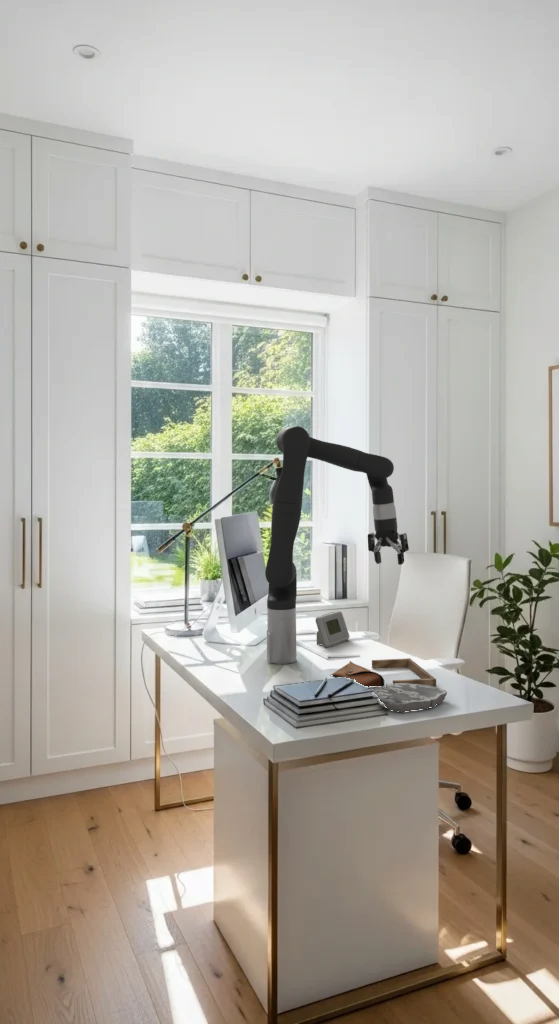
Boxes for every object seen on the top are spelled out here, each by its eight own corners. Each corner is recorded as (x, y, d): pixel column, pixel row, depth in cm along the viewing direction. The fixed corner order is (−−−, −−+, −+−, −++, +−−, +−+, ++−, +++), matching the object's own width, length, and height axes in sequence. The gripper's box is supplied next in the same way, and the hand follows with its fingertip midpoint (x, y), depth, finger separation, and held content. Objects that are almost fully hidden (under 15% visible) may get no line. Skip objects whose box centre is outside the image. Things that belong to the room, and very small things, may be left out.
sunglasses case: (327, 674, 211) (337, 654, 212) (344, 683, 214) (354, 663, 215) (359, 690, 195) (369, 667, 196) (378, 699, 198) (388, 677, 199)
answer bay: (393, 690, 194) (393, 681, 194) (371, 668, 218) (371, 660, 218) (436, 688, 196) (436, 679, 196) (409, 666, 219) (409, 658, 219)
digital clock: (325, 649, 244) (325, 618, 244) (307, 645, 251) (306, 615, 251) (356, 641, 256) (356, 612, 255) (338, 637, 262) (337, 609, 262)
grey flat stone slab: (407, 689, 196) (407, 678, 196) (456, 704, 182) (456, 692, 182) (355, 703, 184) (355, 692, 184) (404, 720, 171) (404, 707, 170)
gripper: (360, 518, 239) (365, 565, 241) (397, 518, 229) (402, 567, 232) (372, 514, 244) (377, 560, 246) (409, 514, 235) (414, 561, 237)
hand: (389, 563), depth 239 cm, fingers open, 8 cm apart
